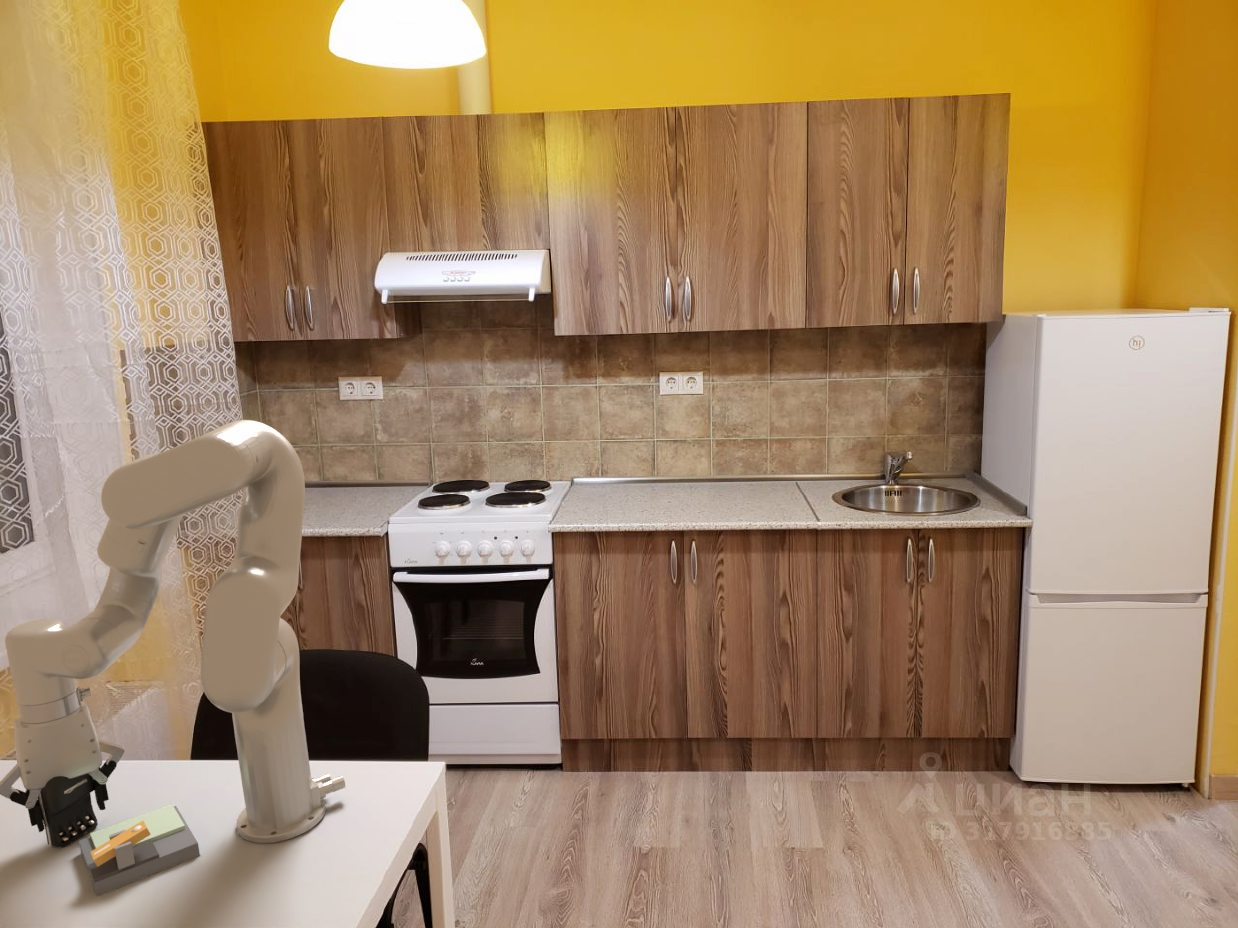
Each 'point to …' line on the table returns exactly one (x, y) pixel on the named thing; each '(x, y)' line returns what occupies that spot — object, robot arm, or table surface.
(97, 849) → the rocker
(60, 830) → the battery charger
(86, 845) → the grey holder stand
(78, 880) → the table surface
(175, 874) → the table surface
